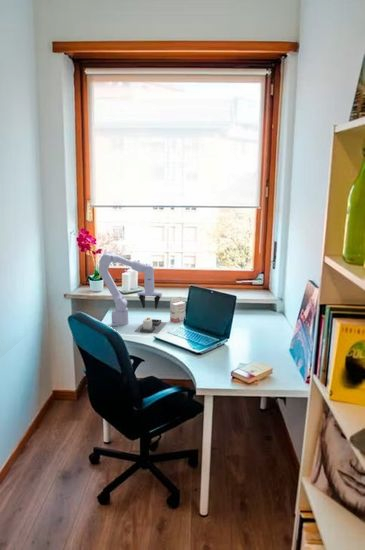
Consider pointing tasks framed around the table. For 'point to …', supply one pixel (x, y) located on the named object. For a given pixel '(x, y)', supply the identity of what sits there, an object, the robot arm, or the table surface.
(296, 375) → the table surface
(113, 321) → the robot arm
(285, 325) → the table surface
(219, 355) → the table surface
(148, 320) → the plug
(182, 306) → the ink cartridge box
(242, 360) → the table surface
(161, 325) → the panel
